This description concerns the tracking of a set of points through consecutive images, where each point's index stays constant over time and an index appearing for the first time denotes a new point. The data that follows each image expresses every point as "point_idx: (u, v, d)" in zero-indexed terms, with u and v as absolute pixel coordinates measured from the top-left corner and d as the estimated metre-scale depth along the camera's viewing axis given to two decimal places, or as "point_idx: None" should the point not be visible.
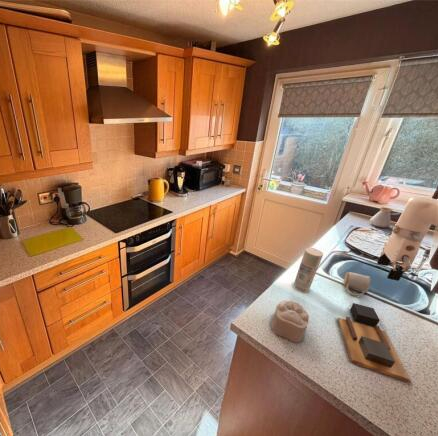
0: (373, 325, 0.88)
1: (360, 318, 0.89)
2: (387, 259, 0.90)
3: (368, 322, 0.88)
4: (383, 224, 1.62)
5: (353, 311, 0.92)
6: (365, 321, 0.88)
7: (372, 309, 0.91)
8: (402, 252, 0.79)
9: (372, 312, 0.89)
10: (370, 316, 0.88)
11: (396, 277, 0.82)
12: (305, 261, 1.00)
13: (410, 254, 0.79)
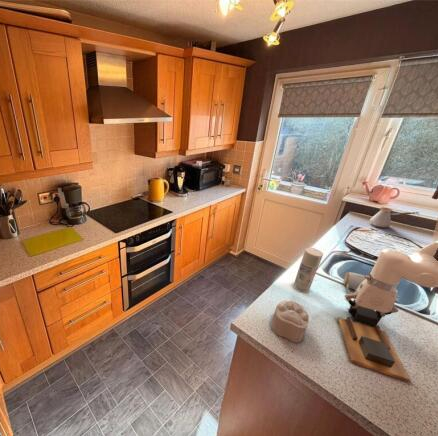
0: (373, 325, 0.88)
1: (360, 318, 0.89)
2: None
3: (368, 322, 0.88)
4: (383, 224, 1.62)
5: None
6: (365, 321, 0.88)
7: None
8: (357, 288, 0.89)
9: (372, 312, 0.89)
10: (370, 316, 0.88)
11: (349, 310, 0.92)
12: (305, 261, 1.00)
13: (358, 291, 0.88)
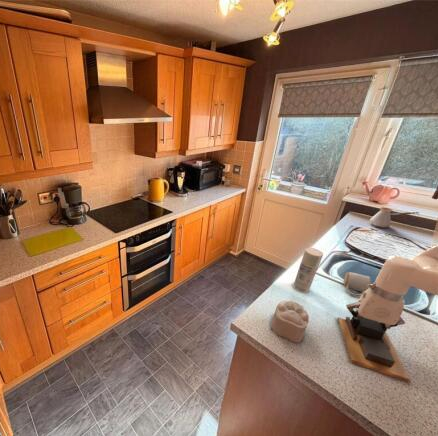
0: (377, 338, 0.80)
1: (363, 330, 0.81)
2: None
3: (372, 335, 0.81)
4: (383, 224, 1.62)
5: None
6: (368, 333, 0.81)
7: None
8: (360, 297, 0.82)
9: (376, 323, 0.82)
10: (374, 328, 0.80)
11: (351, 321, 0.85)
12: (305, 261, 1.00)
13: (361, 301, 0.80)
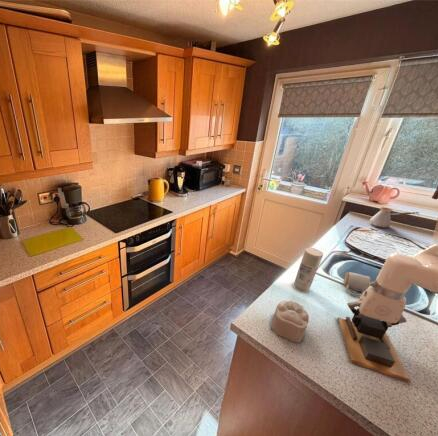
0: (379, 336, 0.80)
1: (364, 329, 0.81)
2: None
3: (373, 333, 0.80)
4: (383, 224, 1.62)
5: None
6: (370, 332, 0.81)
7: None
8: None
9: (377, 322, 0.82)
10: (375, 326, 0.80)
11: (353, 320, 0.85)
12: (305, 261, 1.00)
13: (363, 299, 0.80)
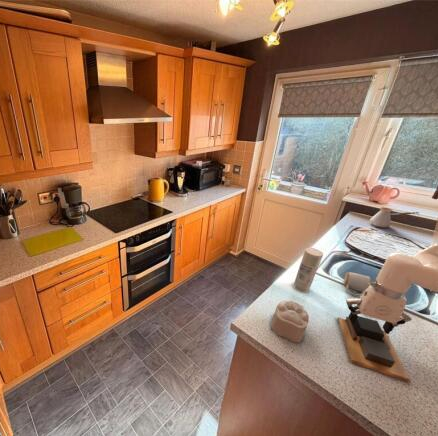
0: (377, 340, 0.81)
1: (363, 332, 0.82)
2: (388, 325, 0.80)
3: (371, 337, 0.81)
4: (383, 224, 1.62)
5: (355, 324, 0.85)
6: (368, 335, 0.81)
7: (376, 322, 0.84)
8: (362, 295, 0.81)
9: (376, 326, 0.82)
10: (374, 330, 0.81)
11: (349, 317, 0.85)
12: (305, 261, 1.00)
13: (363, 299, 0.80)
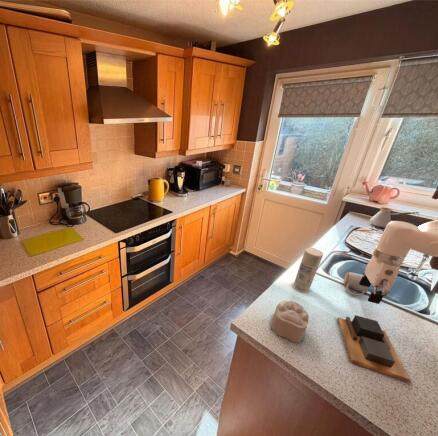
0: (377, 340, 0.81)
1: (363, 332, 0.82)
2: (369, 280, 0.89)
3: (371, 337, 0.81)
4: (383, 224, 1.62)
5: (355, 324, 0.85)
6: (368, 335, 0.81)
7: (376, 322, 0.84)
8: (381, 276, 0.79)
9: (376, 326, 0.82)
10: (374, 330, 0.81)
11: (376, 300, 0.82)
12: (305, 261, 1.00)
13: (389, 278, 0.78)
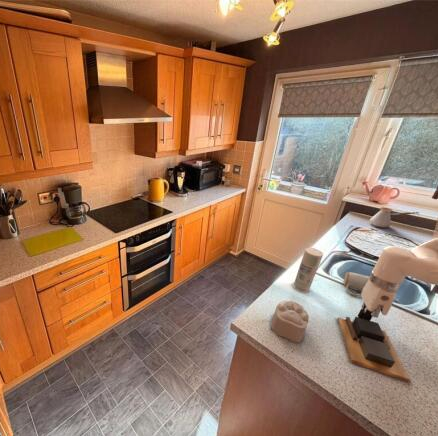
0: None
1: (363, 334, 0.81)
2: None
3: None
4: (383, 224, 1.62)
5: (355, 326, 0.84)
6: (369, 337, 0.81)
7: (376, 324, 0.83)
8: (377, 301, 0.78)
9: (376, 327, 0.81)
10: (374, 332, 0.80)
11: (366, 319, 0.85)
12: (305, 261, 1.00)
13: (385, 304, 0.77)
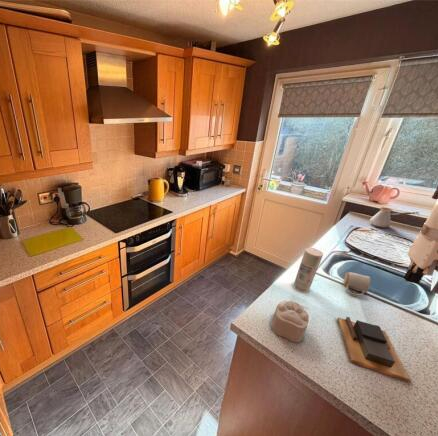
0: None
1: None
2: None
3: None
4: (383, 224, 1.62)
5: (357, 330, 0.83)
6: None
7: (378, 328, 0.81)
8: (433, 256, 0.69)
9: (378, 331, 0.80)
10: (376, 336, 0.78)
11: (415, 279, 0.76)
12: (305, 261, 1.00)
13: None
